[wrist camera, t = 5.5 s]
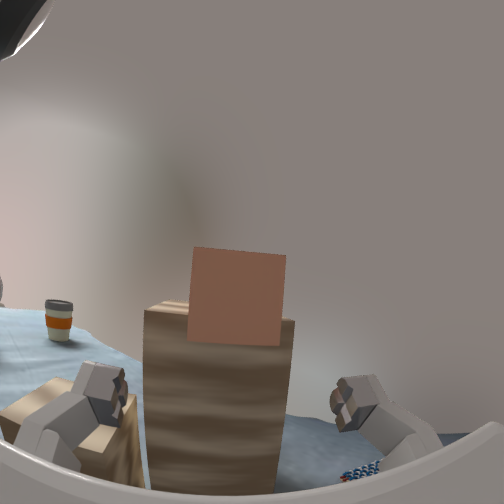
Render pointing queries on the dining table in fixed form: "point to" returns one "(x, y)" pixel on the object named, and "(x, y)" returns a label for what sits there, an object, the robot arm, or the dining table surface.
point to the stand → (212, 407)
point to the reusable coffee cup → (58, 319)
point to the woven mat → (361, 472)
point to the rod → (236, 297)
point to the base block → (96, 444)
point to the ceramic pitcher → (1, 288)
